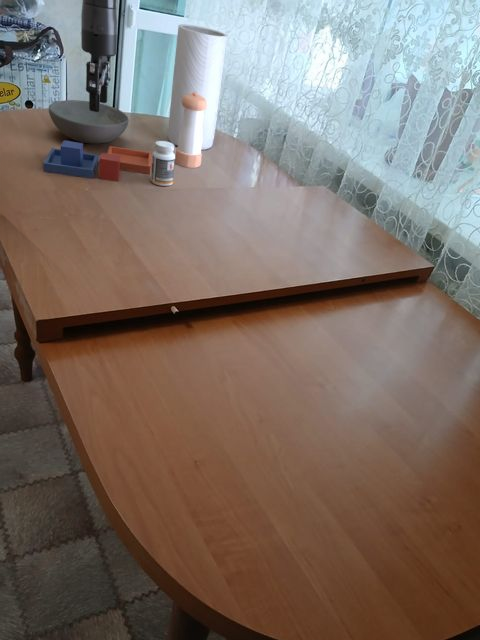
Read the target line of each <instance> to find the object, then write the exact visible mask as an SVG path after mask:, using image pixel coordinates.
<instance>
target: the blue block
mask: <svg viewBox="0 0 480 640" xmlns="http://www.w3.org/2000/svg"><path fill="white" fill-rule="evenodd" d="M60 149H61V165H68V166H75V167H81V166H82V164H83V153H84V142H78V141H70V140H63V141H62V143H61V145H60Z"/></svg>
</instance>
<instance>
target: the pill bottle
mask: <svg viewBox="0 0 480 640" xmlns="http://www.w3.org/2000/svg"><path fill="white" fill-rule="evenodd" d="M154 148H155V150H154V151H153V152H152V161H151V171H150V181H151V183H152V184H154V185H157V186H159V187H169V186H172V185H173V184H174V178H175V177H174V176H175V164H176V162H175V158H176V154H175V153H174V151H175V144H173V143H172V142H170V141H166V140H157V141H155V143H154Z"/></svg>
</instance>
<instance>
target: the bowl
mask: <svg viewBox="0 0 480 640" xmlns="http://www.w3.org/2000/svg"><path fill="white" fill-rule="evenodd" d="M48 113H49V117H50V119H51V121H52V123H53V125H54V126H55V127H56V128H57V129H58V130H59V132H60V133H61V134H63V135H64V136H66V137H68V138H69V139H71V140H74V141H75V142H78V143H83V144H84V143H85V144H92V145H93V144H94V145H100V144H106V143H110V142H113V141H115V140H117V139H119V137H121V136H122V135H123V134H124V133H125V131H126V129H127V127H128V125H129V120H130V119H129V116H128V115H127V114H126V113H124V112H123V111H122V110H120V109H118V108H115V107H113V106H110V105H107V104H105V103H100V110H99V112H94V111H90V109H89V100H80V99H79V100H76V99H67V100H59V101H58V100H57V101H54V102H52V103H50V104H49V105H48Z"/></svg>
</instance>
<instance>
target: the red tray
mask: <svg viewBox="0 0 480 640" xmlns="http://www.w3.org/2000/svg"><path fill="white" fill-rule="evenodd" d="M106 153H107V154H114V155H120V171H122V172H123V171H124V172H131V173H138V174H139V173H140V174H145V175H151V171H152V157H153V152H151V151H146V150H139V149H133V148H125V147H118V146H112V145H109V146H108V148H107V152H106Z"/></svg>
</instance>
